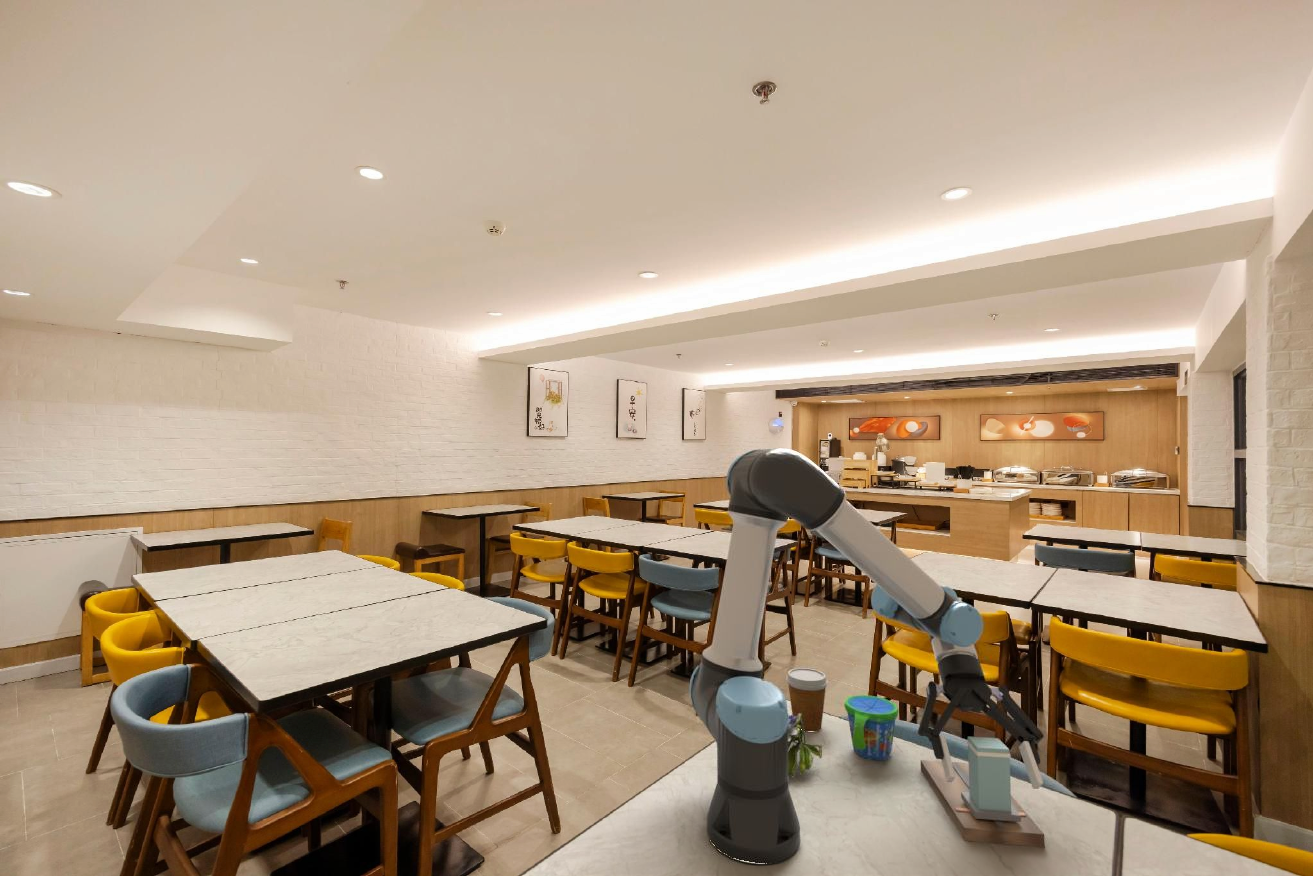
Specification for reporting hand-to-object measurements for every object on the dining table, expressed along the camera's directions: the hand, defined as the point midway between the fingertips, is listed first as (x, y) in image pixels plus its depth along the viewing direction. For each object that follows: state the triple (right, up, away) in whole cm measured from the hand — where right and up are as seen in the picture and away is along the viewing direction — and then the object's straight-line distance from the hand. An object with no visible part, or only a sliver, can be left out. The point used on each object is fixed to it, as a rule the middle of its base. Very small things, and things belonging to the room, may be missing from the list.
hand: (994, 783), depth 96 cm
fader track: (+1, -8, +7) cm, 11 cm away
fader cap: (0, -5, +1) cm, 5 cm away
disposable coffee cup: (-21, -10, +38) cm, 45 cm away
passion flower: (-28, -9, +22) cm, 37 cm away
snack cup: (-11, -9, +26) cm, 29 cm away
